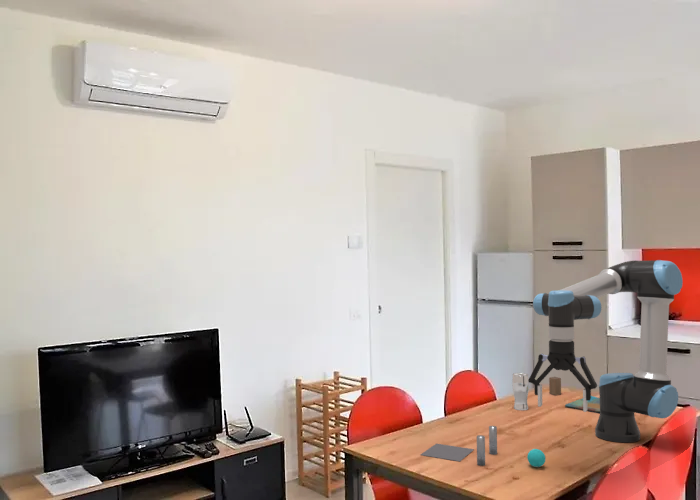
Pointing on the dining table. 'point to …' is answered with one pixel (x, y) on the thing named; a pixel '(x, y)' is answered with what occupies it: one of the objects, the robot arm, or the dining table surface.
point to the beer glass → (520, 390)
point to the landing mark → (447, 452)
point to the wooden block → (555, 386)
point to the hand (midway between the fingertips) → (562, 408)
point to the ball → (536, 458)
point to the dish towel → (591, 405)
